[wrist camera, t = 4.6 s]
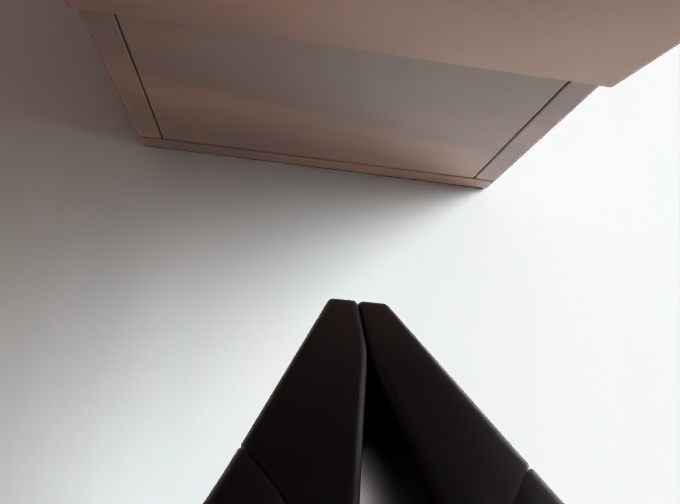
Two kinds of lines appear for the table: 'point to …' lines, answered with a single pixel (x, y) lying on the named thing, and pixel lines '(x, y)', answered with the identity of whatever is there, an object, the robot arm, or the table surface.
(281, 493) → the robot arm
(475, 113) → the walnut box
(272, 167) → the table surface
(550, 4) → the lid
